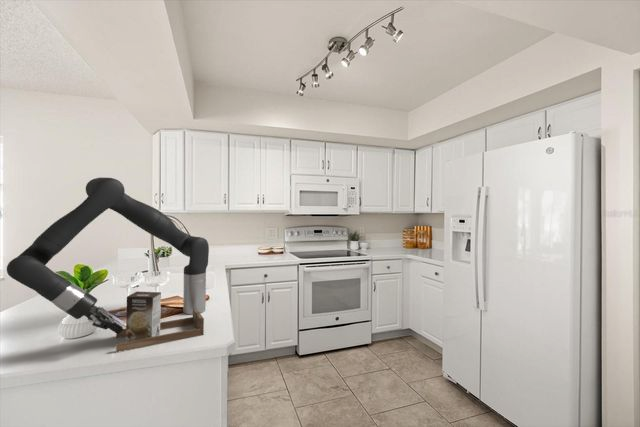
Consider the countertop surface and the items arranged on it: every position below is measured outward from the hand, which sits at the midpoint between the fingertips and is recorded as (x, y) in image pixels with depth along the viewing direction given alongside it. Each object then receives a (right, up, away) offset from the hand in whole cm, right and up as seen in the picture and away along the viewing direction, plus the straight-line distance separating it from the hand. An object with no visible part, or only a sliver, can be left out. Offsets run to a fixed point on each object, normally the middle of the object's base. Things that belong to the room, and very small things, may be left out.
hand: (120, 330), depth 104 cm
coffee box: (+6, -5, +4) cm, 8 cm away
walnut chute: (+9, -4, +6) cm, 12 cm away
